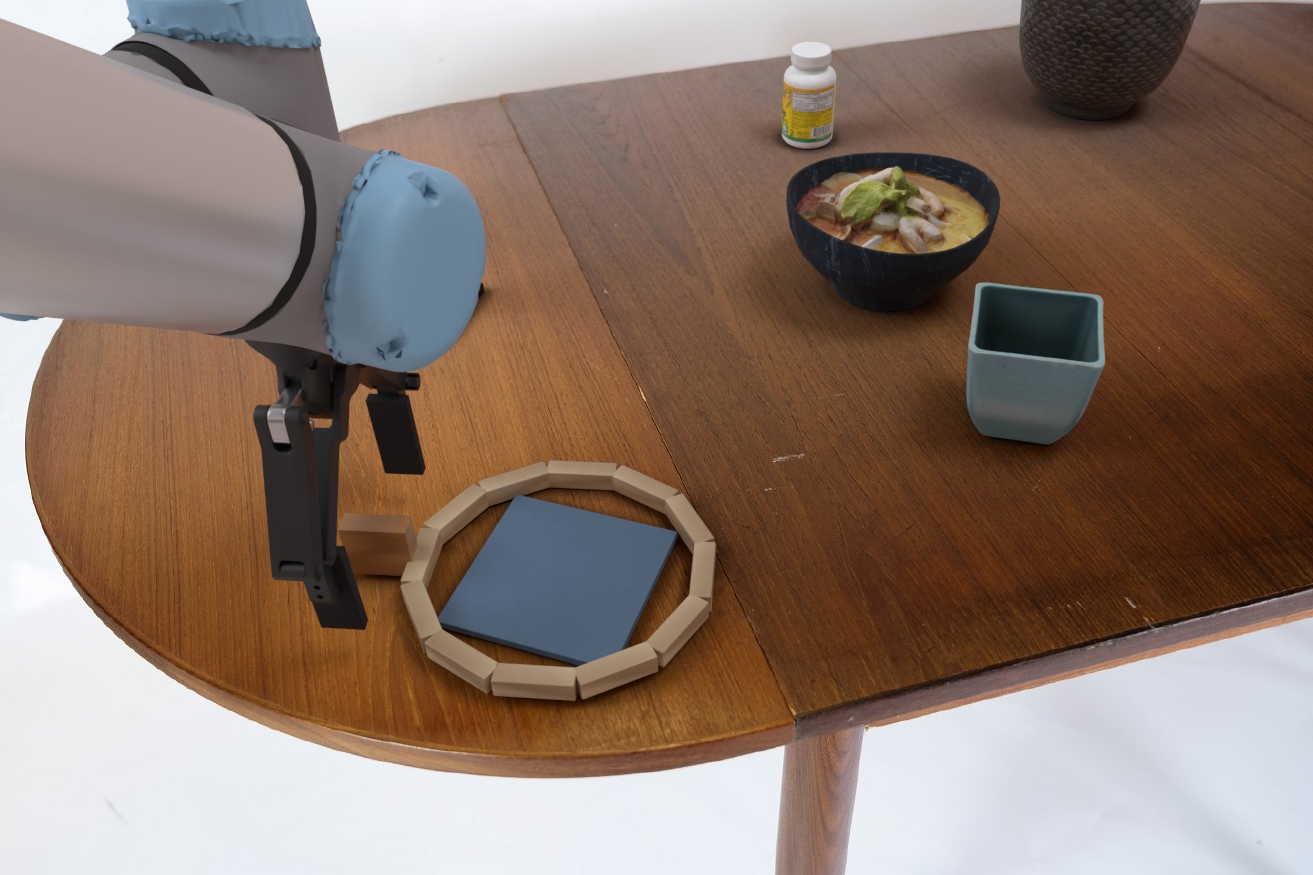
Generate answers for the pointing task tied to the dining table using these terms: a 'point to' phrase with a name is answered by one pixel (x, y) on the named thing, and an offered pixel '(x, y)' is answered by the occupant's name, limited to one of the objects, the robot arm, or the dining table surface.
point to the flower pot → (1032, 360)
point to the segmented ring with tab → (400, 553)
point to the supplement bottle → (809, 96)
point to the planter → (1101, 51)
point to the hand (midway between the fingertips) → (377, 542)
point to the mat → (559, 581)
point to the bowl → (891, 223)
